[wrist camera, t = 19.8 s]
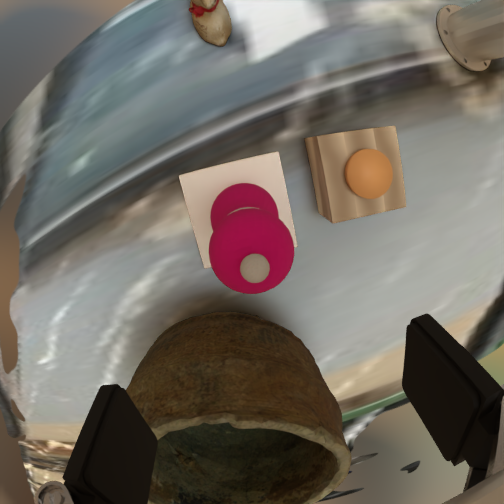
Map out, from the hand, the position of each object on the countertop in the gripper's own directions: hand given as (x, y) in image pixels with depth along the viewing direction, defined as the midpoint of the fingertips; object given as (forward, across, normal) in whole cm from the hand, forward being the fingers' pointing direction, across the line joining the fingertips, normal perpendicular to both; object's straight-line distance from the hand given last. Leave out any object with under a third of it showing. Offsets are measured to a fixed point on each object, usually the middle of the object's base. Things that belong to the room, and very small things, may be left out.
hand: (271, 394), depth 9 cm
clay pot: (+32, +7, +21) cm, 39 cm away
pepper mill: (+30, 0, 0) cm, 30 cm away
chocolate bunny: (+32, -2, -25) cm, 41 cm away
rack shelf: (+32, 0, 0) cm, 32 cm away
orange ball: (+32, -15, -2) cm, 35 cm away
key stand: (+32, -15, -2) cm, 35 cm away
